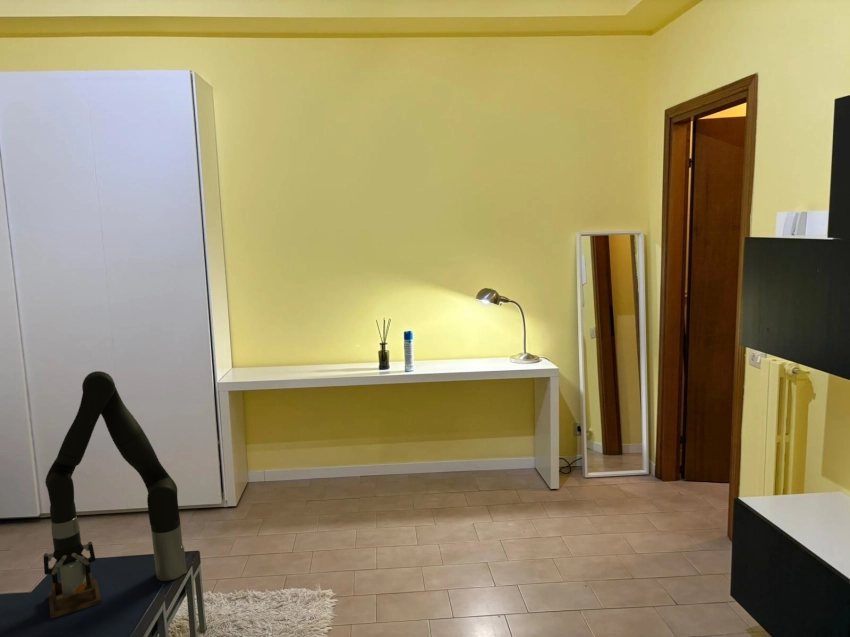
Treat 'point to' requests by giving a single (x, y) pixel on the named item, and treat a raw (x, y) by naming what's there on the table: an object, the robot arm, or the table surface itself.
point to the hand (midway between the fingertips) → (72, 579)
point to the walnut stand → (73, 598)
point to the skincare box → (73, 578)
